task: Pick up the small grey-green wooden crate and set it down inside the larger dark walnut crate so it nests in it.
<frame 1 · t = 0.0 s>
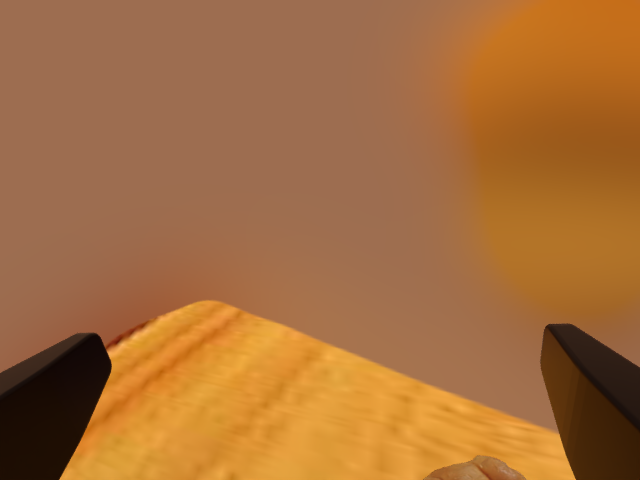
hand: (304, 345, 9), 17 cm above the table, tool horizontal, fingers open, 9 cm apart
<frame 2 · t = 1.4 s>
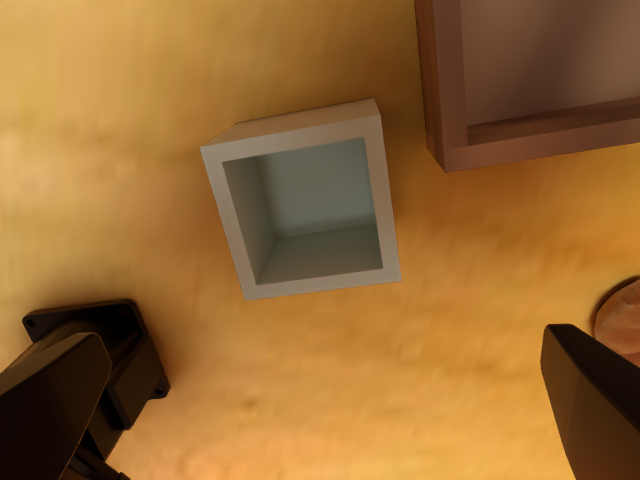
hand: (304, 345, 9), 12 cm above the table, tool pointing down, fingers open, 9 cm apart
small crate: (316, 177, 20), on the table
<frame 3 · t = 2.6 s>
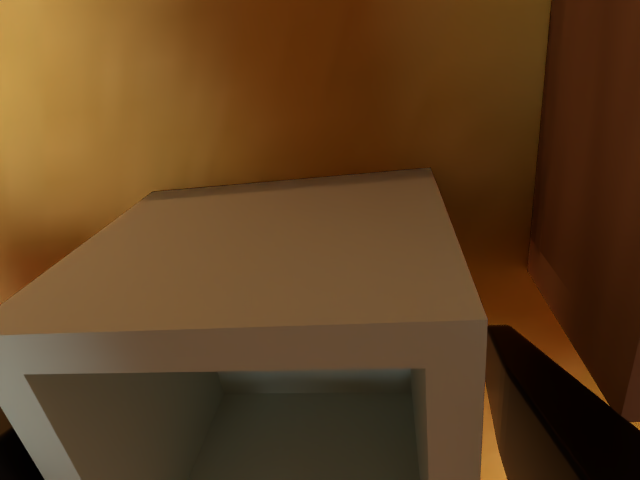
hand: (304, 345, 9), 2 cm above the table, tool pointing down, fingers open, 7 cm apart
small crate: (304, 299, 10), on the table
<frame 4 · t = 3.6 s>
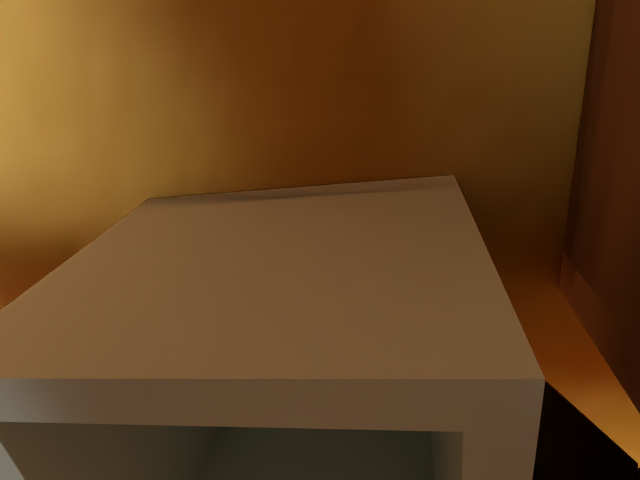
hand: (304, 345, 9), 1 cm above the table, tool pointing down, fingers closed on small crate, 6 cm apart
small crate: (312, 315, 10), on the table, touching gripper
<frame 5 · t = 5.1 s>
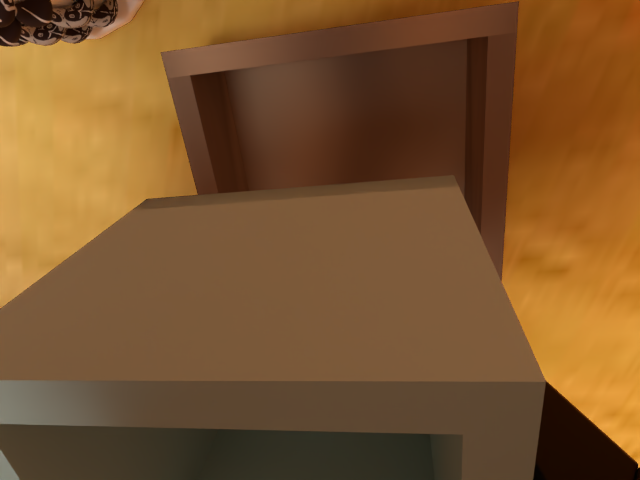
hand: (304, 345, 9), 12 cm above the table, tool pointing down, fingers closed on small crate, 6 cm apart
small crate: (311, 316, 10), point 11 cm above the table, touching gripper
big crate: (351, 165, 19), on the table
when the fingers open (4 cm above the table, at t = 6.9 s): small crate drops 3 cm, resting on big crate.
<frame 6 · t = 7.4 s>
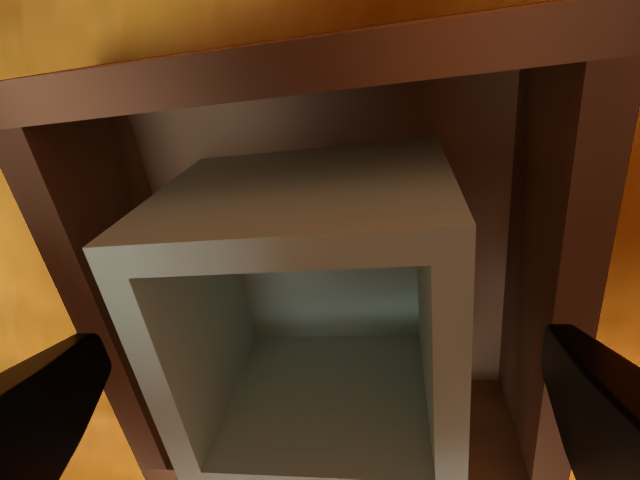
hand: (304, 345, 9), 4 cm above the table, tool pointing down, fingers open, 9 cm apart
small crate: (327, 253, 12), point 1 cm above the table, touching big crate
big crate: (331, 243, 13), on the table
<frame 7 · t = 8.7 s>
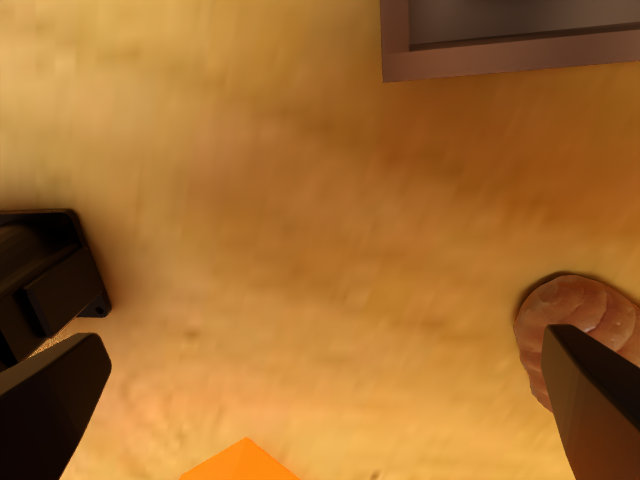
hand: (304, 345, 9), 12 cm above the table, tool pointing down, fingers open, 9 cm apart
pastry: (588, 350, 22), on the table
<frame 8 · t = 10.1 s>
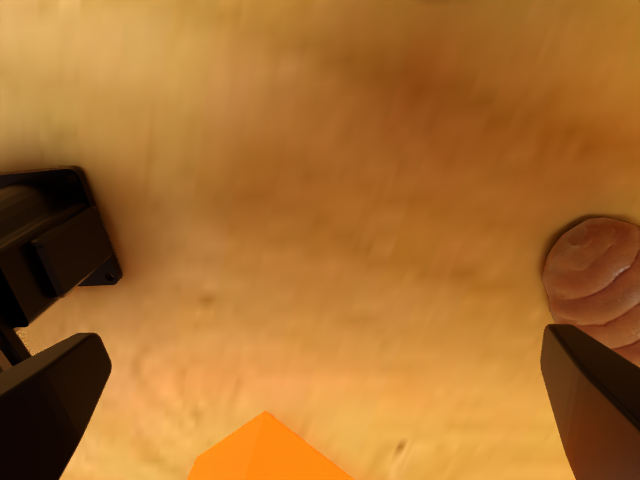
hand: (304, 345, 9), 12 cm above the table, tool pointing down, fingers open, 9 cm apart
orange juice: (277, 468, 30), on the table
pastry: (618, 300, 21), on the table
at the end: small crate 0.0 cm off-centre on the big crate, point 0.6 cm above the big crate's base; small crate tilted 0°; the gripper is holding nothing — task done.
